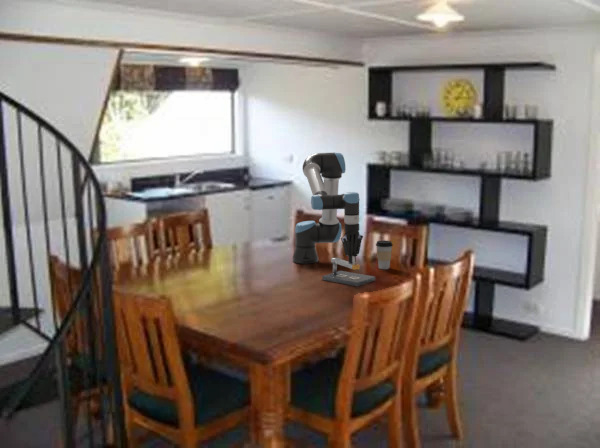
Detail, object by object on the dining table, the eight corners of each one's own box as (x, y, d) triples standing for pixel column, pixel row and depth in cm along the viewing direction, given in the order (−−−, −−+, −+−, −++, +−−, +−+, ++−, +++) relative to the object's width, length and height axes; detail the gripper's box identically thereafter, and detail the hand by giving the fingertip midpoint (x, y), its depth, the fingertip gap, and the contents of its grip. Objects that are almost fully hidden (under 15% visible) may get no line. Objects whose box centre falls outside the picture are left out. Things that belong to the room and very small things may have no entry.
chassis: (322, 279, 344) (322, 264, 342) (340, 274, 356) (340, 259, 355) (357, 286, 330) (357, 270, 328) (375, 280, 342) (375, 265, 341)
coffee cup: (392, 266, 374) (392, 240, 372) (392, 270, 365) (393, 243, 362) (375, 266, 375) (375, 240, 373) (375, 269, 366) (375, 243, 363)
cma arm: (329, 262, 348) (329, 258, 347) (335, 261, 350) (335, 257, 350) (353, 269, 330) (353, 265, 329) (360, 268, 332) (360, 264, 331)
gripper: (346, 225, 327) (347, 271, 331) (366, 222, 335) (366, 268, 338) (337, 223, 334) (337, 269, 337) (356, 220, 341) (357, 265, 345)
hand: (352, 268), depth 338 cm, fingers closed
